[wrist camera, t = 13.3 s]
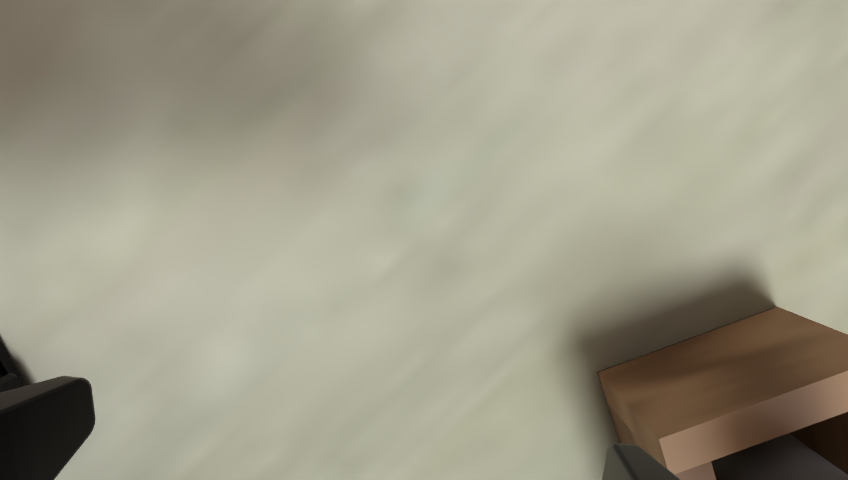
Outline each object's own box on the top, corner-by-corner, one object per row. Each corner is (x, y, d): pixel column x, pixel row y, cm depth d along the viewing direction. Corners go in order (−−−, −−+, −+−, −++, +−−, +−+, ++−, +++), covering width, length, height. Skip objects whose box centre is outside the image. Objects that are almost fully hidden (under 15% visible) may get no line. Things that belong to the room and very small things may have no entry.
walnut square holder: (646, 526, 22) (716, 630, 17) (597, 372, 21) (658, 439, 16) (814, 466, 22) (931, 553, 17) (777, 306, 21) (894, 353, 16)
